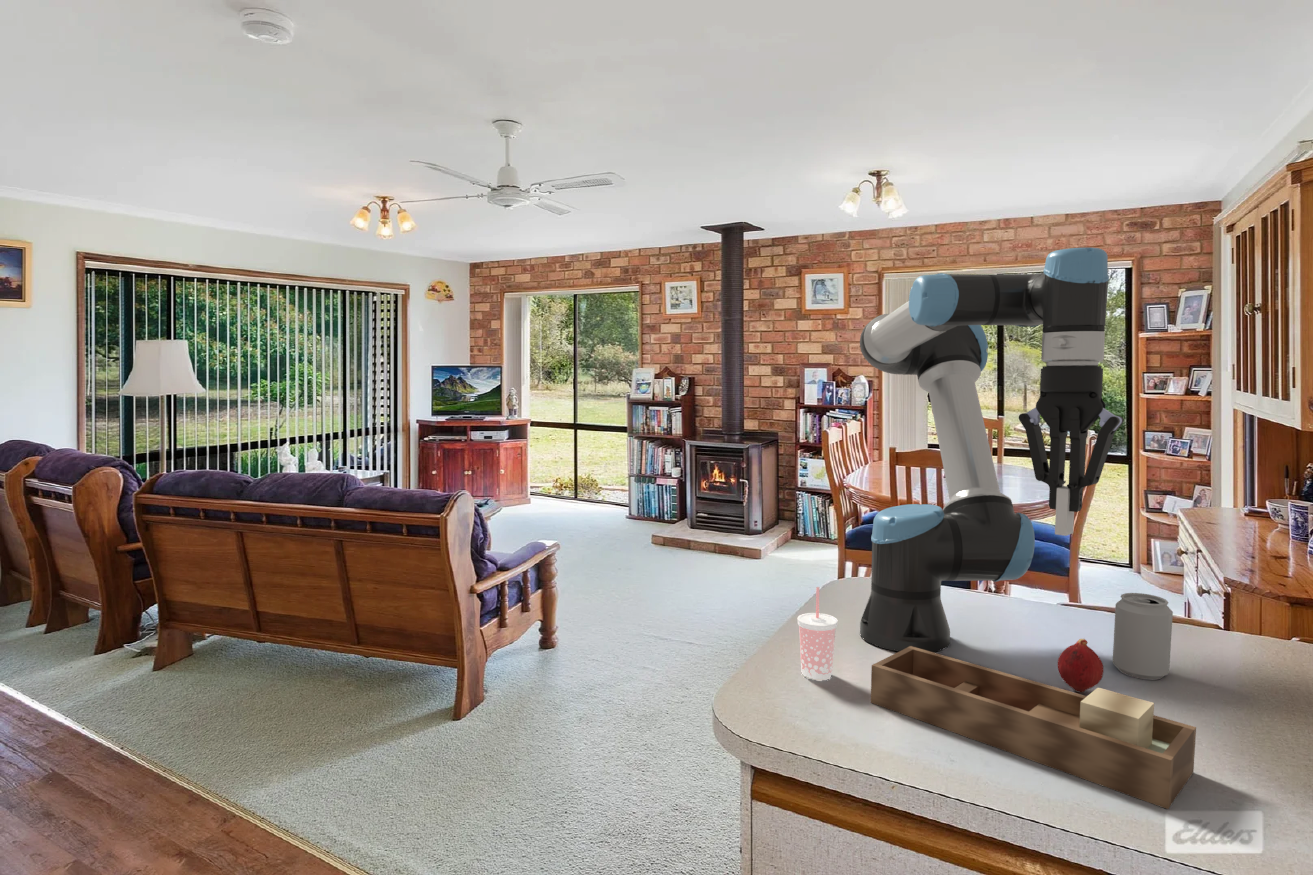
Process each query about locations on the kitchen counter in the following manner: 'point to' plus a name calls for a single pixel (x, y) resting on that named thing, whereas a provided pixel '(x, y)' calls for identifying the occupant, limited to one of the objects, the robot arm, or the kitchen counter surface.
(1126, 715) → the maple block
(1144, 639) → the can
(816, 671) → the beverage cup
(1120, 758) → the wooden compartment tray
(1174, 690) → the kitchen counter surface
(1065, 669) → the onion
